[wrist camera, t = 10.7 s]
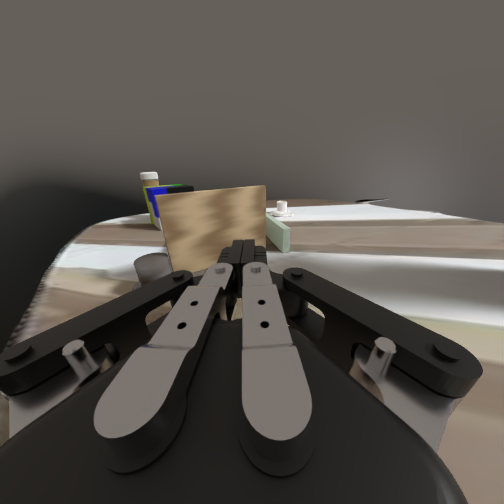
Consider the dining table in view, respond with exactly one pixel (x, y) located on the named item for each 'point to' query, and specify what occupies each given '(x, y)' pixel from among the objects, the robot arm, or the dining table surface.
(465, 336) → the dining table surface
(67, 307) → the dining table surface
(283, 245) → the tray
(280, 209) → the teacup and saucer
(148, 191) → the puzzle toy
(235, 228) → the tan wooden flat panel
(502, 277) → the dining table surface
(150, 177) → the sprinkles bottle
